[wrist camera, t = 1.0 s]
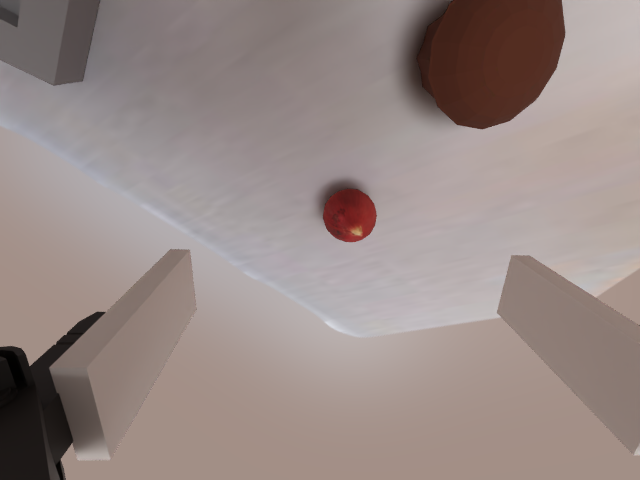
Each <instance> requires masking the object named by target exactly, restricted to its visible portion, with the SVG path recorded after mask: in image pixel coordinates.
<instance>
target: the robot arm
mask: <svg viewBox="0 0 640 480" xmlns="http://www.w3.org/2000/svg"><path fill="white" fill-rule="evenodd" d="M195 311H196V300H195V291H194V282H193V274H192V264H191V255H190V250H179V249H170V250H169V251H168V252H167V253H166V254H165V255H164V256H163V257H162V258H161V259H160V260H159V261H158V262H157V263H156V264H155V265H154V266H153V267H152V268H151V269H150V270H149V271H148V272H147V273H146V274H145V275H144V276H143V277H141V278H140V279H139V281H137V282H136V283H135V284H134V285H133V286H132V287H131V288H130V289H129V290H128V291H127V292H126V293H125V294H124V295H123V296H122V297H121V298H120V299H119V300H118V301H117V302H116V303H115V304H114V305H113V306H112V307H111V308H110V309H109V310H108V311H107V312H96V313H94V314H92V315H90V316H89V317H87V318H85V319H83V320H81V321H80V322H78V323H77V324H76V325H75V326H74V327H73V328H72V329H71V330H70V331H68V333H67V335H64V336H63V337H62V338H61V339H60V340H59V341H57V343H56V345H53V346H52V347H51V348H50V349H49V350H48V351H46V352H45V353H44V354H43V355H42V356H41V357H40V358H39V359H38V360H37V361H35V362H34V363H33V364H32V365H31V366H29V363H28V361H27V357H26V354H25V353H24V351H23V350H22V349H21V348H18V347H13V346H7V347H0V480H66V478H65V473H64V468H63V465H62V462H61V458H62V456H63V455H64V453H65V452H66V451H67V449H68V448H69V447H70V445H71V444H72V443H73V447H74V450H75V453H76V456H77V459H78V460H111V458H112V457H113V455H114V453H115V451H116V450H117V448H118V446H119V444H120V443H121V441H122V439H123V437H124V436H125V434H126V432H127V430H128V429H129V427H130V425H131V423H132V422H133V419H134V418H135V416H136V415H137V413H138V411H139V409H140V408H141V406H142V404H143V402H144V401H145V398H146V397H147V395H148V394H149V392H150V390H151V388H152V387H153V385H154V383H155V381H156V380H157V378H158V376H159V374H160V372H161V371H162V369H163V367H164V366H165V364H166V362H167V360H168V359H169V357H170V355H171V353H172V352H173V350H174V348H175V346H176V345H177V343H178V341H179V339H180V338H181V336H182V334H183V332H184V331H185V329H186V327H187V325H188V324H189V322H190V320H191V318H192V317H193V315H194V313H195ZM497 313H498V314H499V315H500V316H501V317H502V318H503V319H504V321H505V322H507V324H508V325H509V326H510V327H511V328H512V329H513V330H514V331H515V332H516V333H517V334H518V335H519V336H520V337H521V338H522V339H523V340H524V341H525V342H526V343H527V344H528V346H529V347H530V348H531V349H532V350H533V351H534V352H535V353H536V354H537V355H538V356H539V357H540V358H541V359H542V360H543V361H544V362H545V363H546V364H547V365H548V366H549V367H550V369H551V370H552V371H553V372H554V373H555V374H556V375H557V376H558V377H559V378H560V379H561V380H562V381H563V382H564V383H565V384H566V385H567V386H568V387H569V388H570V389H571V390H572V391H573V392H574V394H576V396H577V397H578V398H579V399H580V400H581V401H582V402H583V403H584V404H585V405H586V406H587V407H588V408H589V409H590V410H591V411H592V412H593V413H594V414H595V415H596V416H597V418H598V419H599V420H600V421H601V422H602V423H603V424H604V425H605V426H606V427H607V428H608V429H609V430H610V431H611V432H612V433H613V434H614V435H615V436H616V437H617V438H618V439H619V440H620V442H621V443H622V444H623V445H624V446H625V447H626V448H627V449H628V450H629V451H630V452H631V453H632V454H633V455H640V325H638V324H636V323H635V322H633V321H632V320H630V319H628V318H627V317H625V316H623V315H622V314H620V313H619V312H617V311H616V310H614V309H613V308H611V307H609V306H608V305H606V304H605V303H603V302H601V301H600V300H598V299H597V298H595V297H594V296H592V295H591V294H589V293H587V292H586V291H584V290H583V289H581V288H579V287H578V286H576V285H575V284H573V283H572V282H570V281H568V280H567V279H565V278H564V277H562V276H561V275H559V274H557V273H556V272H554V271H553V270H551V269H550V268H548V267H546V266H545V265H543V264H542V263H540V262H538V261H537V260H535V259H534V258H532V257H531V256H518V255H511V259H510V263H509V267H508V271H507V275H506V279H505V283H504V287H503V291H502V295H501V299H500V302H499V306H498V310H497Z"/></svg>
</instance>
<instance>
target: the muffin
mask: <svg viewBox="0 0 640 480" xmlns="http://www.w3.org/2000/svg"><path fill="white" fill-rule="evenodd" d="M564 38H565V26H564V17H563V8H562V0H453V1H452V2H451V3H450V4H449V6H448V8H447V10H446V12H445V13H444V14H443V15H442V16H441V17H440V18H439V19H437V20H436V21H435V22H433V23H432V24H431V25H429V26H428V28H427V31H426V35H425V39H424V42H423V45H422V47H421V49H420V52H419V54H418V56H417V61H418V65H419V68H420V71H421V79H422V87H423V88H424V89H425V90H427V91H428V92H429V93H430V94H431V95H432V96H433V97H434V98H435V100H436V103H437V106H438V107H439V108H440V109H441V110H442V111H443V112H444V113H445V114H446V115H447V116H448V117H449V118H450V119H451V120H452V121H454V122H455V123H456V124H457V125H461V126H467V127H472V128H477V129H485V128H488V127H492V126H495V125H498V124H501V123H505V122H508V121H510V120H512V119H513V118H514V117H515V116H517V115H518V114H519V113H520V112H521V111H523V110H524V109H525V108H526V107H528V106H529V105H530V104H531V103H533V102H534V101H535V100H536V99H537V98H538V97H539V95H540V94H541V92H542V90H543V89H544V87H545V86H546V84H547V82H548V81H549V79H550V78H551V76H552V74H553V73H554V71H555V70H556V68H557V64H558V60H559V57H560V53H561V49H562V45H563V42H564Z"/></svg>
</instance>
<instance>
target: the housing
mask: <svg viewBox="0 0 640 480" xmlns="http://www.w3.org/2000/svg"><path fill="white" fill-rule="evenodd" d="M99 2H100V0H0V60H2V61H4V62H6V63H8V64H10V65H12V66H14V67H16V68H18V69H20V70H22V71H24V72H26V73H29V74H31V75H33V76H35V77H37V78H39V79H41V80H43V81H45V82H47V83H49V84H51V85H60V84H67V83H74V82H80V81H83V76H84V72H85V67H86V62H87V58H88V53H89V48H90V44H91V39H92V34H93V30H94V25H95V21H96V16H97V11H98V7H99Z"/></svg>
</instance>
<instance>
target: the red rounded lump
mask: <svg viewBox="0 0 640 480" xmlns="http://www.w3.org/2000/svg"><path fill="white" fill-rule="evenodd" d="M376 216H377V215H376V210H375V206H374V203H373V202H372V200H371V199H370V198H369V196H368V195H366V194H365V193H363V192H361V191H359V190H357V189H345V190H341V191H338V192H337V193H335V194H334V195H332V196H331V197H330V198H329V200H328V201H327V203H326V204H325V208H324V213H323V219H324V223H325V226H326V228H327V230H328V231H329V232H330V233H331V234H332V235H333V236H334V237H335V238H337V239H339V240H342V241H345V242H356V241H359V240H362V239H364V238H365V237H366V236H368V235H369V234H370V233H371V231H372V230H373V228H374V226H375V222H376Z"/></svg>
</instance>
